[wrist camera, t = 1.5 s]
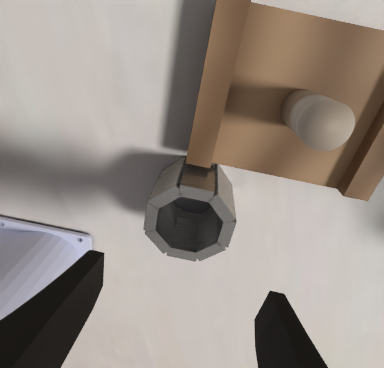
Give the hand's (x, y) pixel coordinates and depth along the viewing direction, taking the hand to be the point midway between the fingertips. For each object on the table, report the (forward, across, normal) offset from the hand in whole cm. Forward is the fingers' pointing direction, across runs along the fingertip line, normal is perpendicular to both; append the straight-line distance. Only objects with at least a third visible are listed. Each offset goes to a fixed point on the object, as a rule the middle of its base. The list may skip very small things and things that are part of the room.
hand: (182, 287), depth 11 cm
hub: (+10, 0, +1) cm, 10 cm away
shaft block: (+10, -5, -7) cm, 13 cm away
